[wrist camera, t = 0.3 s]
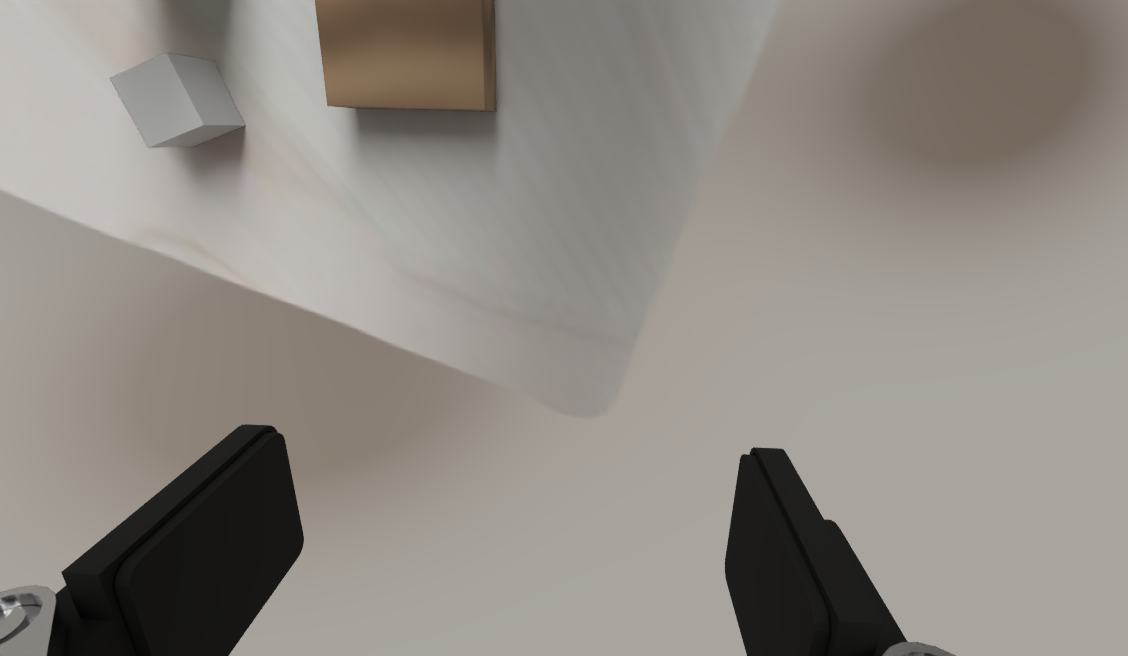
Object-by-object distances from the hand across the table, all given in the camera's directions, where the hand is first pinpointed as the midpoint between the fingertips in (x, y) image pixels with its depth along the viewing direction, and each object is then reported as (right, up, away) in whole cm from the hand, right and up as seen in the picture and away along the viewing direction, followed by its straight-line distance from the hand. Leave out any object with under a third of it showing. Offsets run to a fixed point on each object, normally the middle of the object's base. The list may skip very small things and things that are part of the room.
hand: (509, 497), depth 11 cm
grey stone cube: (-25, +19, +27) cm, 41 cm away
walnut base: (-8, +23, +25) cm, 35 cm away
